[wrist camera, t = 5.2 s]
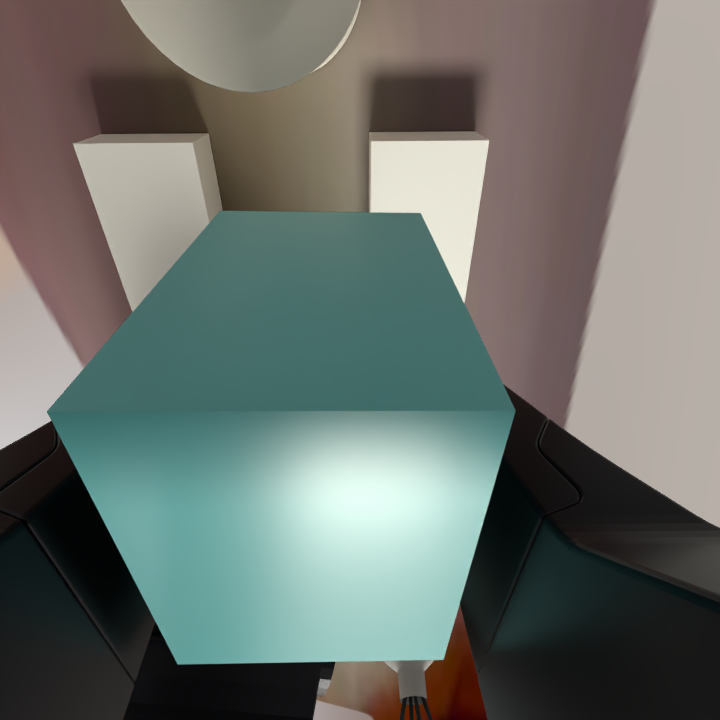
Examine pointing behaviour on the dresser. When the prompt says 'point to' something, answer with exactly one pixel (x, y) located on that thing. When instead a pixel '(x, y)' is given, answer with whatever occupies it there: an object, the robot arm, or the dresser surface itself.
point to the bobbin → (246, 37)
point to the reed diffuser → (412, 685)
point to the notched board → (202, 203)
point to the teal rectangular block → (295, 440)
